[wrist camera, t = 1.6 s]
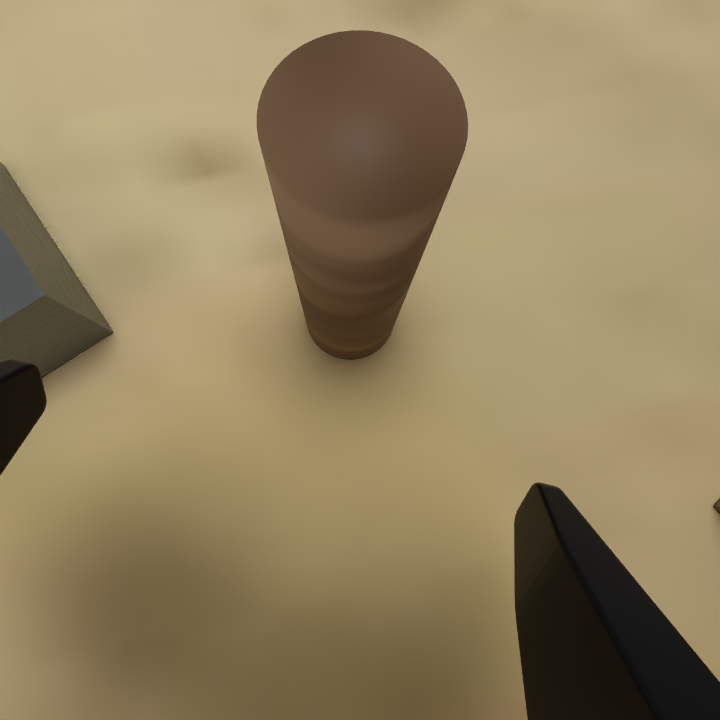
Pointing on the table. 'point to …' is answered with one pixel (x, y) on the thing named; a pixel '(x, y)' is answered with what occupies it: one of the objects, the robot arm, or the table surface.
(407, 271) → the walnut pin
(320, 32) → the table surface
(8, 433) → the robot arm
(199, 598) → the table surface
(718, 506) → the photo frame
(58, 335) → the bore block
